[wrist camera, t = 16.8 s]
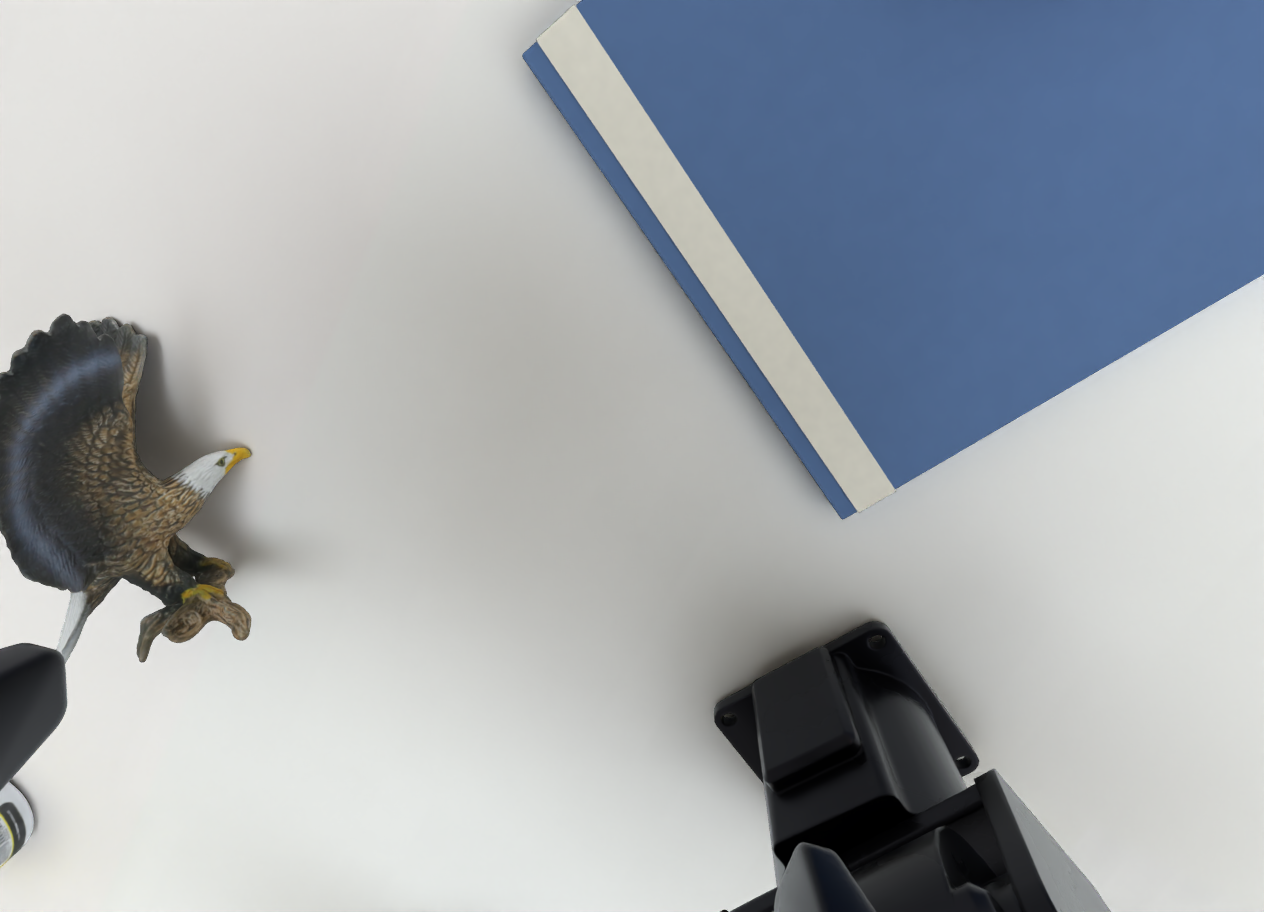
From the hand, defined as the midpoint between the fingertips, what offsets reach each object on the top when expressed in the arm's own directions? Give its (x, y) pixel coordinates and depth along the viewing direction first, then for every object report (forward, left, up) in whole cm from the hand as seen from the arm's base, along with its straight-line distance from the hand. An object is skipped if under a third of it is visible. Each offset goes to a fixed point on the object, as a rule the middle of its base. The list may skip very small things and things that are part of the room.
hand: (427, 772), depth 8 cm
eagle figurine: (+7, +11, -13) cm, 19 cm away
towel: (+1, -13, -13) cm, 19 cm away
